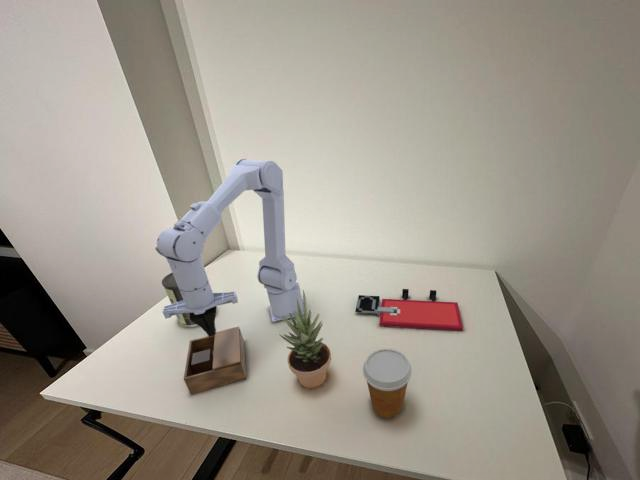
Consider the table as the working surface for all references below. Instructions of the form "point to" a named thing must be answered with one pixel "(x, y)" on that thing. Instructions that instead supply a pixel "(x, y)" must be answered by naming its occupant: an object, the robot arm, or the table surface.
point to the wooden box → (217, 375)
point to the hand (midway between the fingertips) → (212, 333)
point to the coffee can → (176, 299)
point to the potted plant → (307, 349)
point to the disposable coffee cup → (387, 380)
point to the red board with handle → (413, 312)
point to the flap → (226, 348)
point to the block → (202, 361)
